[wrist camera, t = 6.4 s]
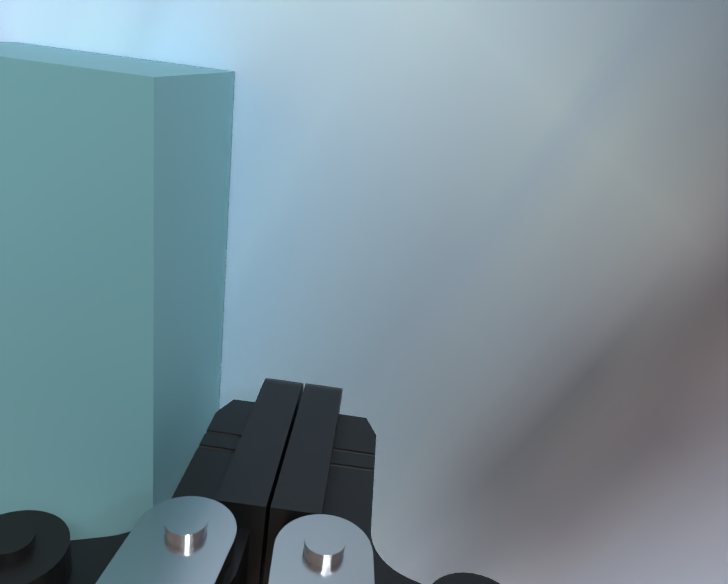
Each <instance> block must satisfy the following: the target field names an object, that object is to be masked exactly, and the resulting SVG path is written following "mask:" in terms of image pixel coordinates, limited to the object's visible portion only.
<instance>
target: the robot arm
mask: <svg viewBox="0 0 728 584" xmlns="http://www.w3.org/2000/svg"><path fill="white" fill-rule="evenodd" d="M341 397H342V388H335V387H327V386H320V385H313V384H305V387H304V391H303V383H298V382H291V381H284V380H277V379H270V378H266V379H265V381H264V383H263V385H262V388H261V390H260V392H259V395H258V397H257V400H256V402H248V401H241V400H233V401H231V402H230V403H229V404H227V405H226V406H224V407H223V408H222V409H220V410H219V411H217V412H216V413H215V415H214V417H213V419H212V421H211V423H210V425H209V426H208V428H207V431H206V433H205V434H204V436H203V438H202V440H201V442H200V444H199V448H197V450H196V452H195V454H194V455H193V457H192V459H191V461H190V463H189V465H188V467H187V469H186V471H185V473H184V475H183V477H182V479H181V481H180V483H179V484H178V486H177V488H176V490H175V492H174V494H173V496H172V498H171V499H169V500H166V501H163V502H161V503H159V504H157V505H155V506H154V507H152V508H151V509H149V510H148V511H147V512H146V513H144V514H143V515H142V517H141V518H140V519H139V520H138V522H137V523H136V525H135V526H134V528H133V529H132V531H130V532H127V533H123V534H119V535H114V536H107V537H98V538H88V539H79V540H70V532H69V528H68V526H67V525H66V523H65V522H64V521H63V520H62V519H61V518H59V517H57V516H56V515H54V514H51V513H48V512H44V511H38V510H20V511H14V512H8V513H4V514H0V584H421V583H418V582H416V581H414V580H411V579H409V578H407V577H405V576H403V575H401V574H399V573H398V572H396V571H395V570H393V569H392V568H391V567H390V566H388V565H387V564H386V563H385V562H384V561H383V560H382V558H381V557H380V556H379V554H378V553H377V552H376V550H375V548H374V545H373V543H372V539H371V517H372V499H373V481H374V463H375V445H376V434H375V433H374V431H373V429H372V427H371V426H370V424H369V422H368V421H367V419H366V418H362V417H355V416H348V415H341V414H339V412H340V405H341ZM433 584H499V583H498V582H496V581H494V580H492V579H490V578H487V577H484V576H482V575H477V574H473V573H453V574H448V575H446V576H443V577H441V578H439V579H438V580H436V581H435V582H434V583H433Z"/></svg>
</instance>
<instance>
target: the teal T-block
mask: <svg viewBox="0 0 728 584" xmlns="http://www.w3.org/2000/svg"><path fill="white" fill-rule="evenodd" d="M234 79H235V72H233V71H226V70H218V69H211V68H203V67H196V66H188V65H181V64H174V63H166V62H159V61H151V60H144V59H137V58H129V57H122V56H114V55H107V54H99V53H92V52H85V51H77V50H70V49H62V48H55V47H47V46H40V45H33V44H25V43H17V42H0V514H4V513H8V512H14V511H20V510H38V511H44V512H48V513H51V514H54V515H56V516H57V517H59V518H61V519H62V520H63V521H64V522H65V523H66V525H67V526H68V528H69V532H70V540H79V539H88V538H98V537H107V536H114V535H119V534H123V533H127V532H130V531H132V529H133V528H134V526H135V525H136V523H137V522H138V520H139V519H140V518H141V517H142V515H143V514H144V513H146V512H147V511H148V510H149V509H151V508H152V507H154V506H155V505H157V504H159V503H161V502H163V501H166V500H169V499H171V498H172V496H173V494H174V492H175V490H176V488H177V486H178V484H179V483H180V481H181V479H182V477H183V475H184V473H185V471H186V469H187V467H188V465H189V463H190V461H191V459H192V457H193V455H194V454H195V452H196V450H197V448H199V444H200V442H201V440H202V438H203V436H204V434H205V433H206V431H207V428H208V426H209V425H210V423H211V421H212V419H213V417H214V415H215V413H216V412H217V411H219V397H220V376H221V354H222V333H223V312H224V291H225V270H226V249H227V227H228V206H229V185H230V164H231V143H232V121H233V100H234Z"/></svg>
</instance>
